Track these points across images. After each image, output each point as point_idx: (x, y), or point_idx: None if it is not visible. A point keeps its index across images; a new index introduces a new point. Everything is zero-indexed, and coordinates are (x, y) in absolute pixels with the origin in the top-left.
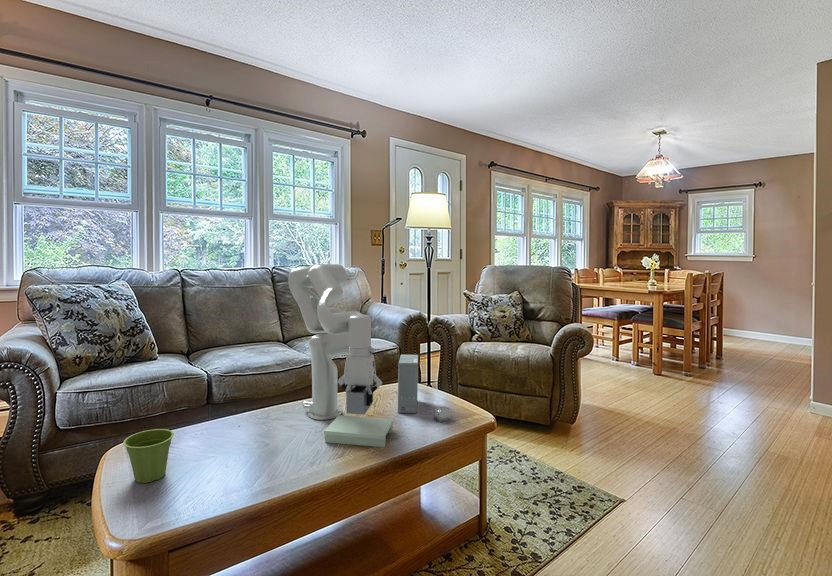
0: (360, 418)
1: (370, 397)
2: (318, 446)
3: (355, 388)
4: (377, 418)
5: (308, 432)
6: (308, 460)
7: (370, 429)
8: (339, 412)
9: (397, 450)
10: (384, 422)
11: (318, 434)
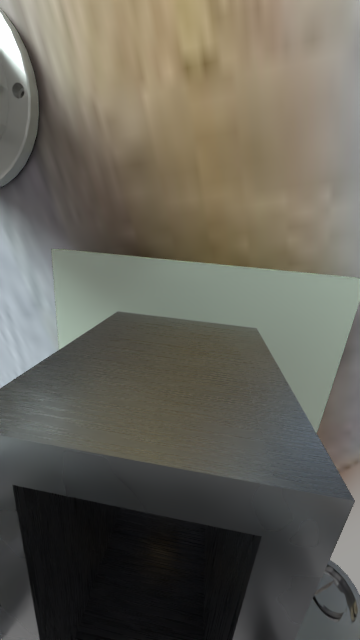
0: (174, 285)
1: None
2: None
3: (52, 528)
4: (269, 278)
5: (3, 318)
6: None
7: None
8: (24, 97)
9: (340, 440)
10: (311, 330)
11: (42, 332)
